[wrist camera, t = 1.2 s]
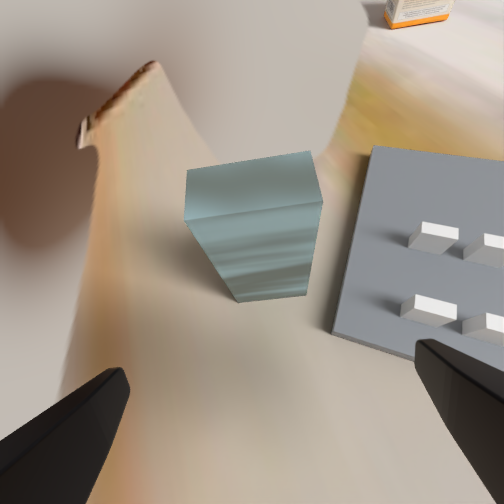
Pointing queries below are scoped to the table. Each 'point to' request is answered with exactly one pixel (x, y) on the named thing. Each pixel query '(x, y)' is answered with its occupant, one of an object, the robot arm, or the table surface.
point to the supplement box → (416, 12)
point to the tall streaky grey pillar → (257, 223)
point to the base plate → (427, 256)
